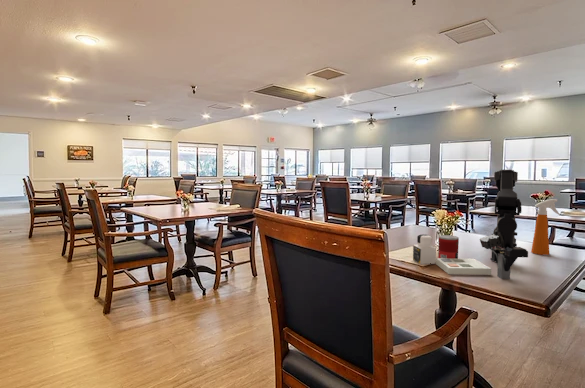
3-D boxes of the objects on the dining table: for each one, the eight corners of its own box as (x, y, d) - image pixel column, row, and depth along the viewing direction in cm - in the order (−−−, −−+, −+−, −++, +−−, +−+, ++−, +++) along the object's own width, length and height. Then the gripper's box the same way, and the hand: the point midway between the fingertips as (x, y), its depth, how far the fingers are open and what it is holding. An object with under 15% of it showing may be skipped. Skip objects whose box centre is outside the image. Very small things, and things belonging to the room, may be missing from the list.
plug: (505, 276, 129) (506, 251, 128) (509, 279, 126) (511, 253, 125) (497, 276, 129) (498, 251, 128) (501, 278, 126) (502, 253, 125)
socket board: (474, 264, 144) (474, 258, 144) (491, 274, 131) (491, 267, 130) (435, 263, 145) (436, 257, 145) (448, 274, 132) (448, 267, 131)
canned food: (460, 263, 145) (460, 238, 145) (440, 262, 147) (441, 238, 146) (455, 259, 153) (456, 235, 152) (436, 258, 155) (437, 234, 154)
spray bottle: (561, 256, 157) (564, 199, 154) (534, 254, 160) (537, 199, 158) (555, 252, 163) (558, 198, 161) (529, 250, 167) (531, 197, 165)
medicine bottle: (412, 260, 152) (413, 233, 151) (427, 259, 153) (428, 233, 152) (420, 264, 145) (420, 237, 144) (435, 264, 145) (436, 236, 144)
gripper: (471, 224, 136) (470, 262, 137) (496, 233, 117) (494, 277, 118) (500, 224, 135) (498, 262, 136) (530, 233, 116) (527, 278, 118)
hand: (503, 269), depth 127 cm, fingers closed on plug, 3 cm apart
